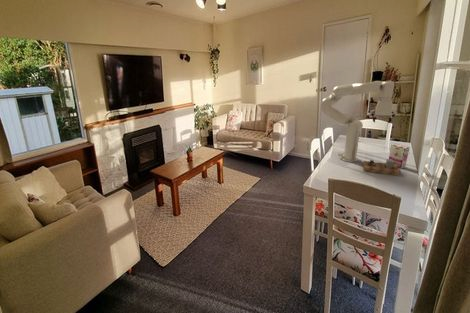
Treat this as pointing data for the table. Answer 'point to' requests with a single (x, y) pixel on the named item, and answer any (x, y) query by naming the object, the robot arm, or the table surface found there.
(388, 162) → the plug
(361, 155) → the table surface
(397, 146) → the candy bar box
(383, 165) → the socket board
